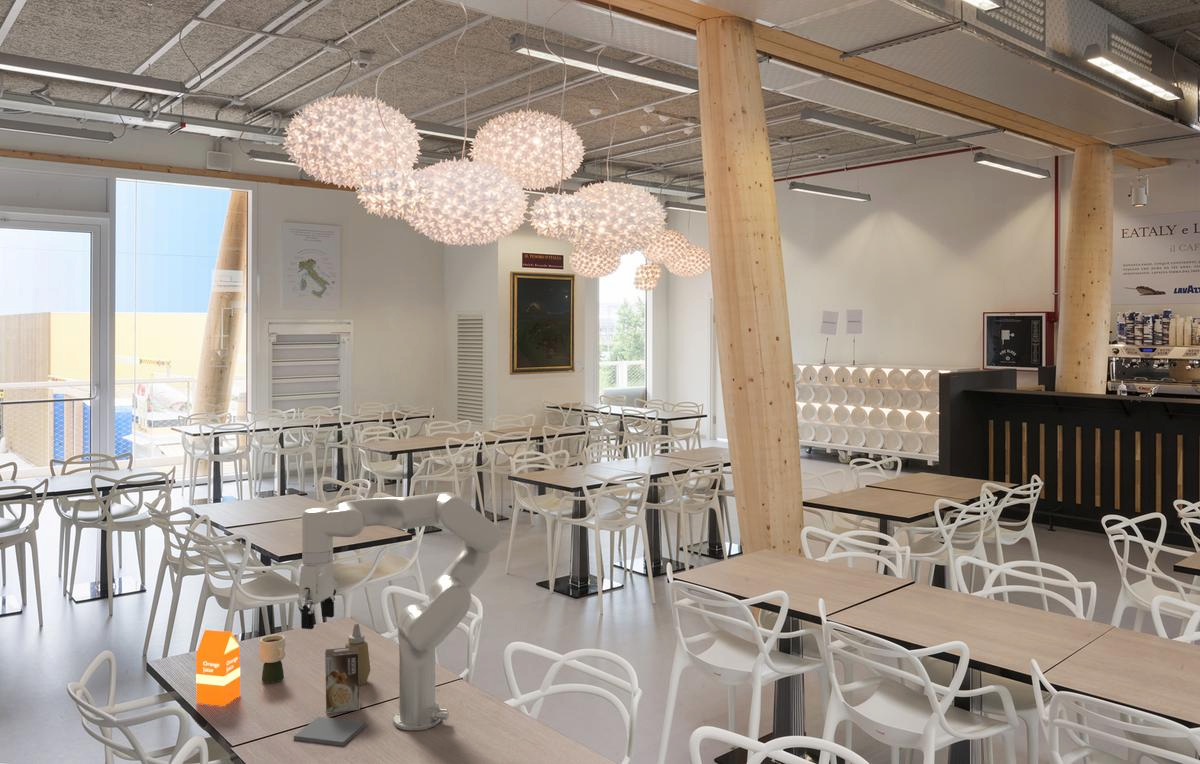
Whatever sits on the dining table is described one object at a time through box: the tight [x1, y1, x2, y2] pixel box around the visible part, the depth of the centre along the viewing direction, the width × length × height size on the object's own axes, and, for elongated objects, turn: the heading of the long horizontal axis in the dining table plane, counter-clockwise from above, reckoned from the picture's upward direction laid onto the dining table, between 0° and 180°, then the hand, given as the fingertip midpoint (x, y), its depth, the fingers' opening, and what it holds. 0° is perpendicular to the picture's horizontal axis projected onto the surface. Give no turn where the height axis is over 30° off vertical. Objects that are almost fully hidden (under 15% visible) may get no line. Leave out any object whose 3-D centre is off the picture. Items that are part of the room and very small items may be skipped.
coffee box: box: [324, 647, 361, 713], centre depth 244 cm, size 9×6×16 cm
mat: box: [293, 716, 367, 747], centre depth 229 cm, size 14×12×1 cm
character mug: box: [259, 634, 286, 684], centre depth 263 cm, size 11×7×13 cm, turn 52°
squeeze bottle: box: [344, 622, 371, 686], centre depth 262 cm, size 8×8×18 cm
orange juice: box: [195, 629, 241, 707], centre depth 248 cm, size 8×9×20 cm
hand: (318, 622), depth 224 cm, fingers open, 9 cm apart
